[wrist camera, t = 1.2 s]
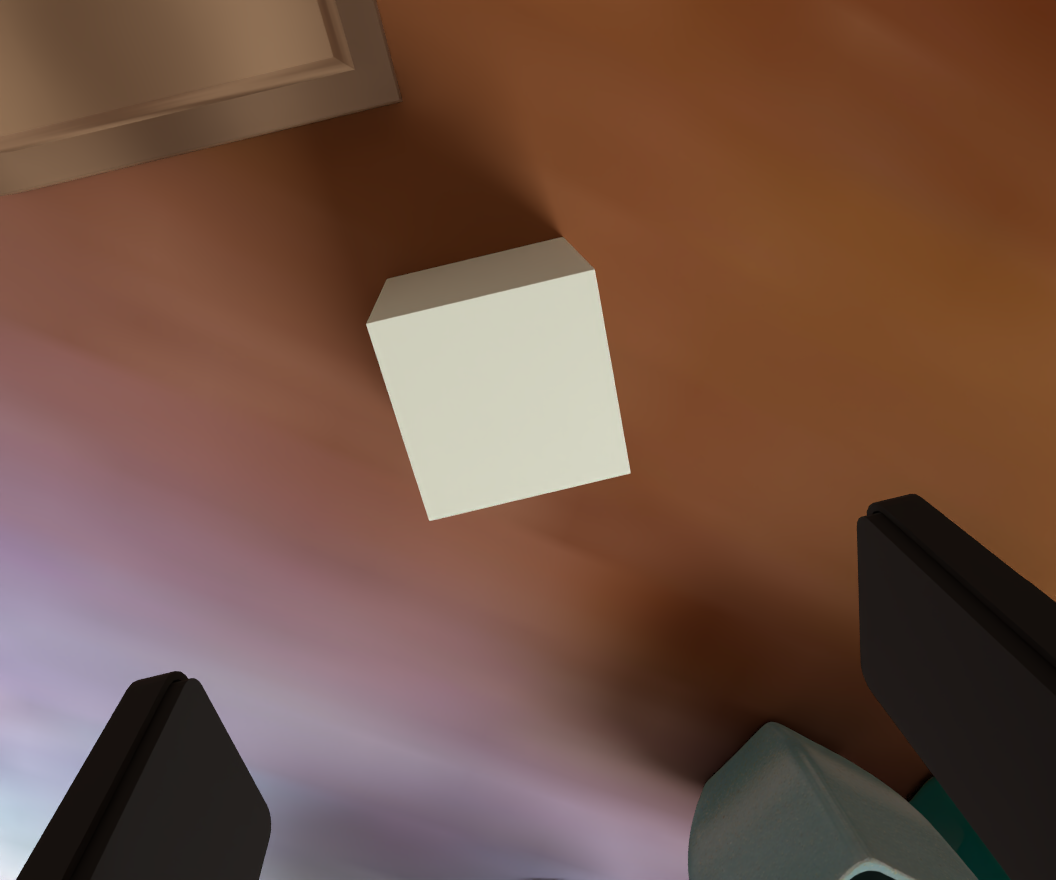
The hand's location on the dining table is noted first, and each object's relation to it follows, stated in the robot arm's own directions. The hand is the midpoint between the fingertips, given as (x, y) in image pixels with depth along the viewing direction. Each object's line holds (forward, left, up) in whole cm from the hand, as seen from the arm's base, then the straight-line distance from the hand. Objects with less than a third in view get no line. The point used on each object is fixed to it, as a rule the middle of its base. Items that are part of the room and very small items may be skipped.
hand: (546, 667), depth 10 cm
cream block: (0, 0, -16) cm, 16 cm away
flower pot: (-8, +24, -16) cm, 30 cm away
